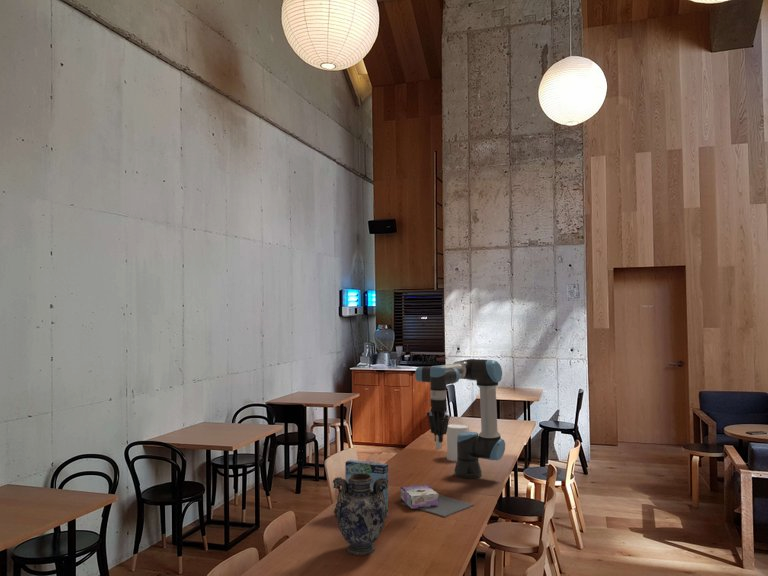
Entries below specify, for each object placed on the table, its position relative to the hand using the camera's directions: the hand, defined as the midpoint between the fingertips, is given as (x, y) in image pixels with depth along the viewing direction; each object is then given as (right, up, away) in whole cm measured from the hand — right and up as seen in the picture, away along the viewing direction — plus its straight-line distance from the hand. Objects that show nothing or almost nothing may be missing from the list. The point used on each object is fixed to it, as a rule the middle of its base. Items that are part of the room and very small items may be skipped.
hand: (438, 448), depth 281 cm
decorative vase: (-35, -24, -54) cm, 68 cm away
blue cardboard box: (-34, -26, -14) cm, 45 cm away
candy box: (-11, -23, +8) cm, 27 cm away
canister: (+20, -29, +85) cm, 92 cm away
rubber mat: (-1, -26, -2) cm, 26 cm away
